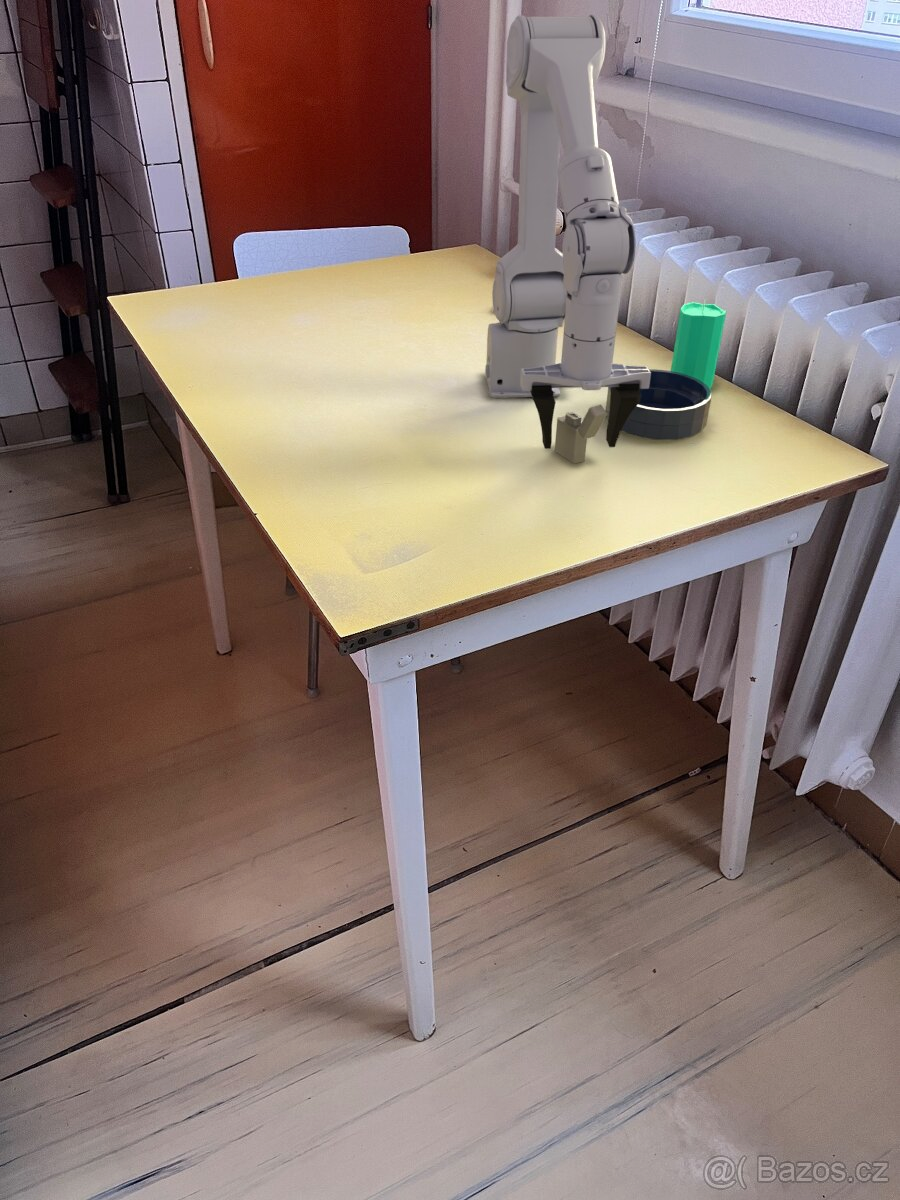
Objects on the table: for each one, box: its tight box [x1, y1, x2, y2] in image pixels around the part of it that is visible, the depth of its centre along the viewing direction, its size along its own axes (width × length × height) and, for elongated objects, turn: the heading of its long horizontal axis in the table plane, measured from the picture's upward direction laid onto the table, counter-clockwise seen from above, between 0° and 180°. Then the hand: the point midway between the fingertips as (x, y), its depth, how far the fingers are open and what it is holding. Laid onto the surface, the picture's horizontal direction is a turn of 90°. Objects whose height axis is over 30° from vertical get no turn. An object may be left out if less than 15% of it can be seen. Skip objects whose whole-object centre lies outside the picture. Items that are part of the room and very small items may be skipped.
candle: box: [670, 297, 727, 390], centre depth 127 cm, size 6×6×12 cm
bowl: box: [605, 368, 713, 441], centre depth 120 cm, size 13×13×4 cm
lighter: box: [554, 404, 607, 465], centre depth 110 cm, size 7×2×8 cm, turn 31°
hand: (578, 444), depth 111 cm, fingers open, 7 cm apart
